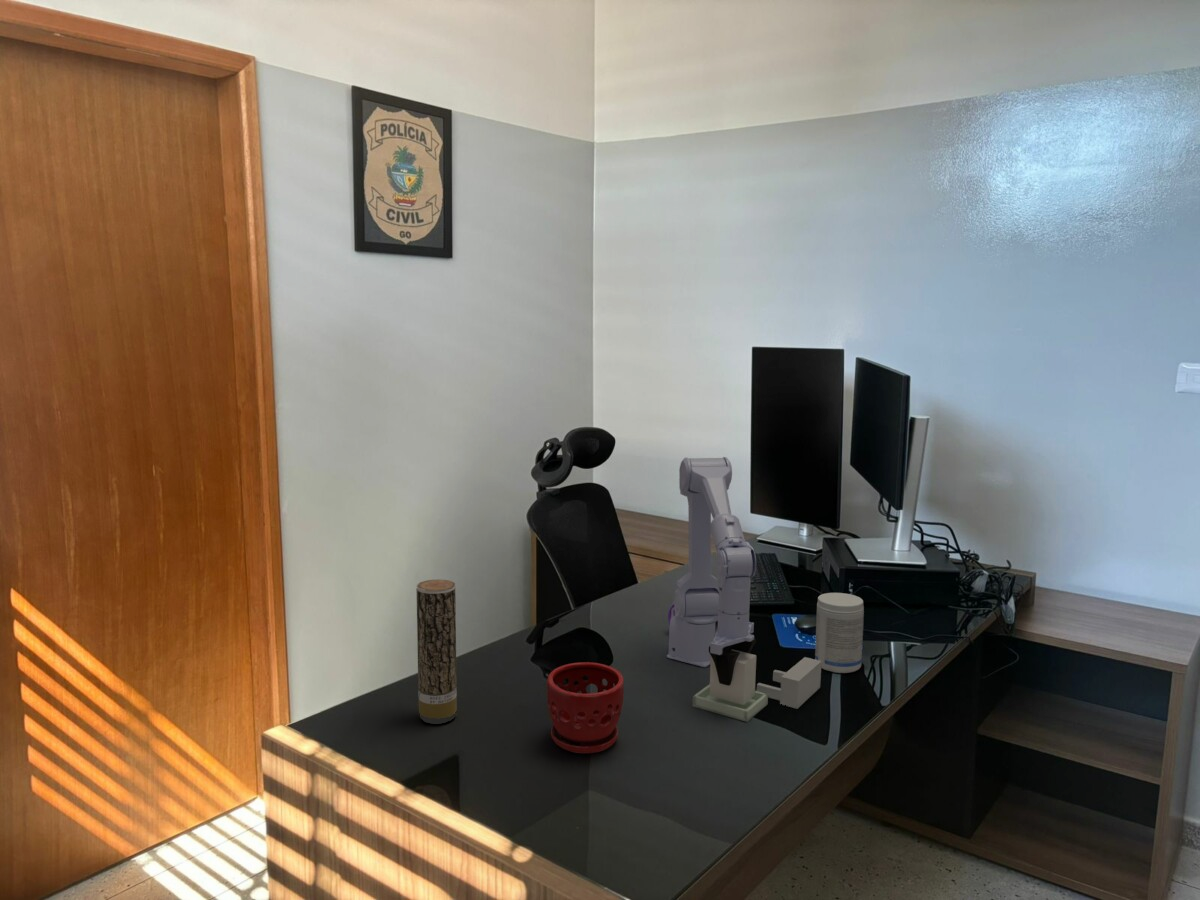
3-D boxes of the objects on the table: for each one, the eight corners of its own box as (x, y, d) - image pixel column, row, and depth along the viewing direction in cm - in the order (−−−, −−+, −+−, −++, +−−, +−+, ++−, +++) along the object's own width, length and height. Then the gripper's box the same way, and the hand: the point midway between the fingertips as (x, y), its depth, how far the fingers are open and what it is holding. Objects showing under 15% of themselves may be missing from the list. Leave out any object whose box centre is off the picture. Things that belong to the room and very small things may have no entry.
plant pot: (532, 738, 153) (532, 672, 151) (592, 718, 161) (593, 655, 159) (576, 769, 143) (576, 699, 141) (638, 746, 150) (639, 679, 149)
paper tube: (463, 713, 162) (462, 581, 158) (445, 729, 156) (443, 592, 152) (430, 707, 164) (428, 577, 161) (411, 722, 158) (409, 588, 154)
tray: (692, 706, 166) (692, 696, 166) (714, 689, 174) (715, 680, 173) (747, 722, 160) (747, 711, 160) (767, 704, 168) (768, 694, 167)
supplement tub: (870, 668, 185) (874, 601, 183) (839, 678, 180) (843, 609, 178) (835, 653, 193) (838, 589, 191) (804, 662, 188) (807, 596, 186)
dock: (753, 696, 171) (754, 669, 170) (777, 676, 181) (778, 651, 180) (797, 708, 166) (798, 681, 165) (820, 687, 176) (821, 661, 175)
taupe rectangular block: (706, 694, 167) (707, 654, 165) (718, 685, 171) (719, 646, 170) (743, 705, 163) (745, 664, 161) (754, 695, 167) (756, 655, 165)
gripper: (736, 625, 156) (733, 697, 158) (769, 603, 168) (766, 671, 170) (701, 617, 160) (698, 688, 162) (735, 596, 172) (733, 663, 174)
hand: (731, 679), depth 166 cm, fingers closed on taupe rectangular block, 5 cm apart
